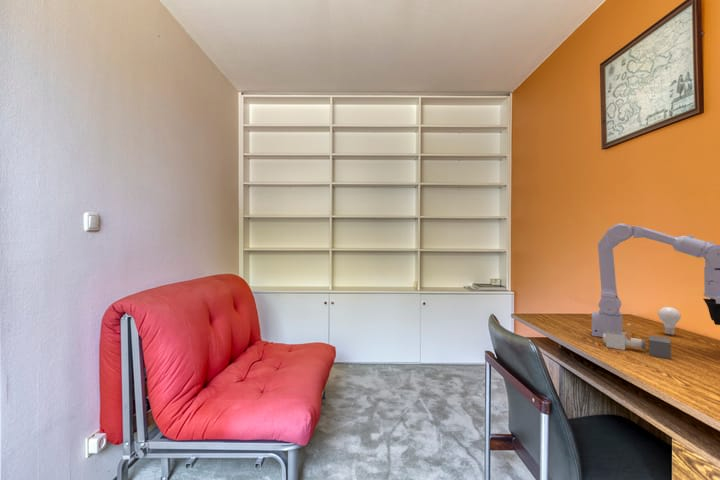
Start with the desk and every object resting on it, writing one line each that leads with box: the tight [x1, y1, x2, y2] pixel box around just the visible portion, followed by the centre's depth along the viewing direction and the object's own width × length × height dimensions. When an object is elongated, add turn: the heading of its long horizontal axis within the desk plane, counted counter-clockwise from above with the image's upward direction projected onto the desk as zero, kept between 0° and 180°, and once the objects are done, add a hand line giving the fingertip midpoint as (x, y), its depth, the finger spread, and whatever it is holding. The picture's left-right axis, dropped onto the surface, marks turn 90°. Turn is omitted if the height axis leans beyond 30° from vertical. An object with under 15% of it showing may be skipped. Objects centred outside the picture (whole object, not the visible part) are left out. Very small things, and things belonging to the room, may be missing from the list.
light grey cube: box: [605, 330, 627, 351], centre depth 109 cm, size 5×5×5 cm
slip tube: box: [602, 323, 646, 350], centre depth 107 cm, size 11×3×8 cm, turn 47°
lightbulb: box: [657, 306, 682, 336], centre depth 122 cm, size 6×6×11 cm
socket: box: [648, 334, 672, 360], centre depth 101 cm, size 5×7×5 cm
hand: (718, 322), depth 102 cm, fingers open, 7 cm apart
